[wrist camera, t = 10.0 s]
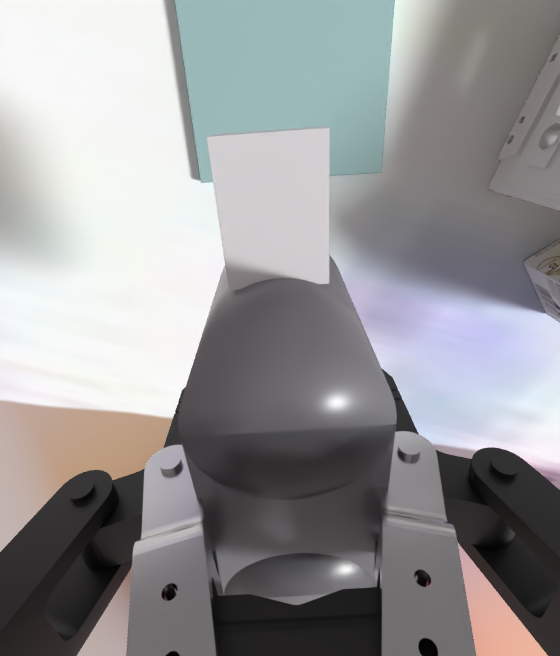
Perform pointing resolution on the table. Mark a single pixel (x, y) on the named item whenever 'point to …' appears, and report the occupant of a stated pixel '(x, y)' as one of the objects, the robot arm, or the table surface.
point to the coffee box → (546, 277)
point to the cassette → (535, 143)
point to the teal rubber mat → (290, 72)
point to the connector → (285, 384)
